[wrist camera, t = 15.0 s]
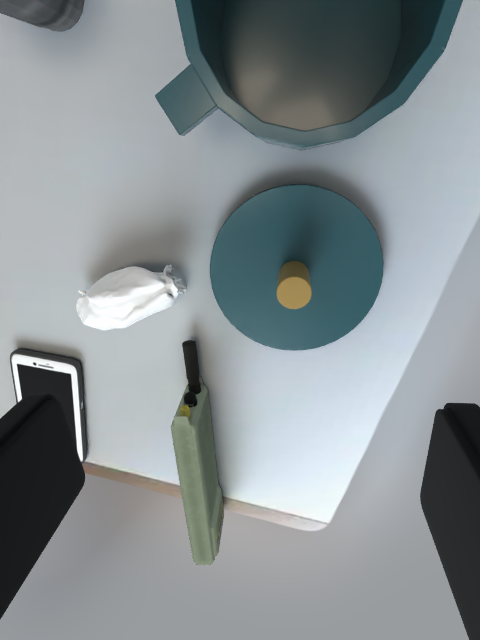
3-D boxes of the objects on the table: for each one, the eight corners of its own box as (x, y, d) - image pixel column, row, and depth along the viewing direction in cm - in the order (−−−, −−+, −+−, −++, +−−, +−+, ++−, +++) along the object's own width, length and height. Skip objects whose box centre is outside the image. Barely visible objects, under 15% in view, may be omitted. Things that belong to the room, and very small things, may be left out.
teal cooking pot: (146, 39, 27) (81, -13, 18) (398, -201, 20) (469, -441, 12) (247, 203, 30) (230, 220, 22) (485, 42, 24) (584, -17, 16)
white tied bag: (158, 238, 34) (69, 292, 35) (156, 259, 28) (49, 325, 29) (187, 280, 36) (103, 330, 37) (191, 308, 30) (91, 368, 31)
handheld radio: (200, 511, 46) (174, 336, 36) (225, 512, 46) (207, 335, 36) (188, 564, 40) (154, 371, 30) (218, 566, 40) (193, 371, 30)
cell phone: (29, 447, 45) (24, 453, 45) (14, 346, 39) (7, 350, 38) (88, 460, 45) (84, 466, 44) (82, 359, 39) (77, 363, 38)
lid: (180, 245, 32) (159, 261, 27) (328, 144, 28) (337, 141, 23) (266, 368, 36) (262, 402, 31) (408, 298, 32) (431, 325, 27)
